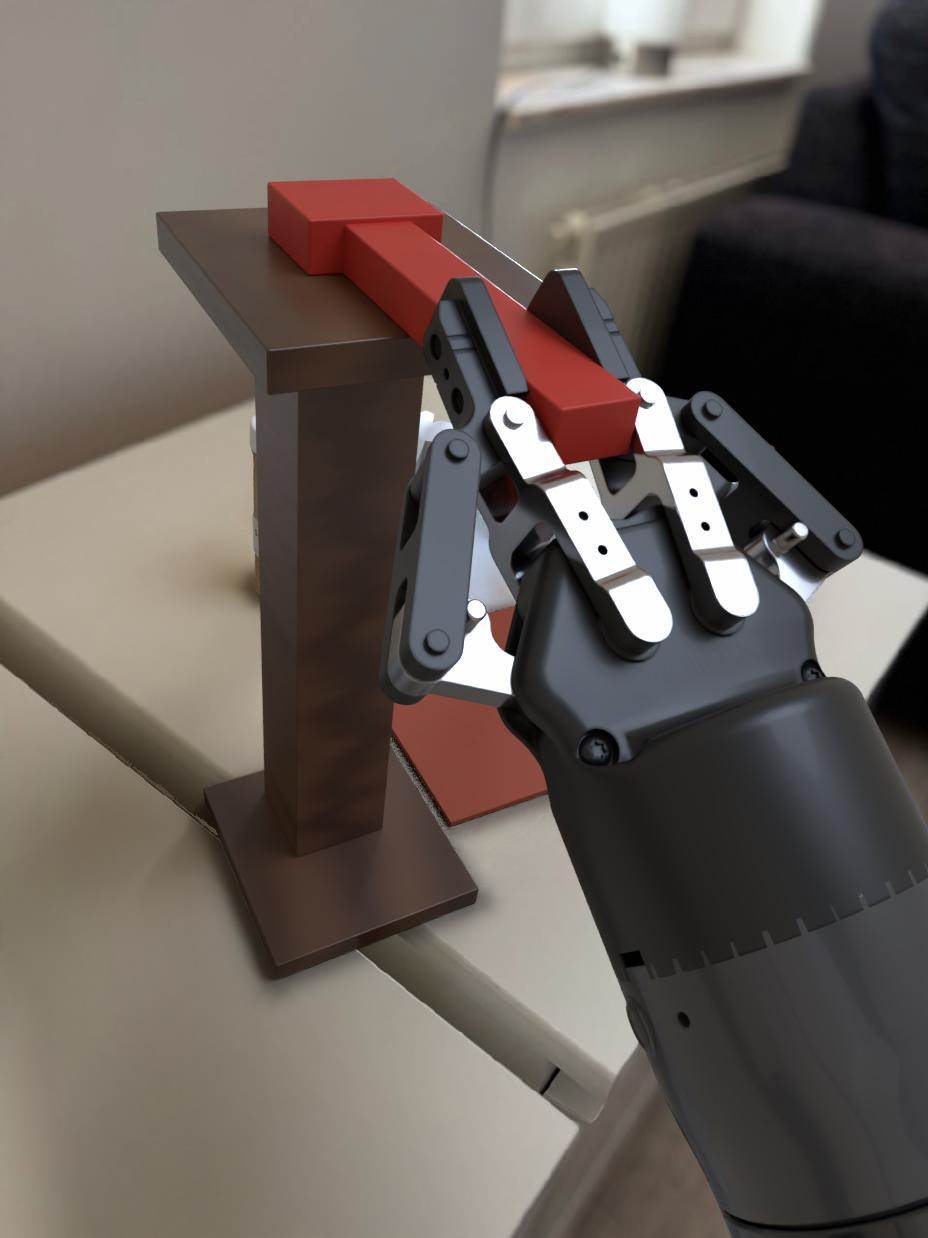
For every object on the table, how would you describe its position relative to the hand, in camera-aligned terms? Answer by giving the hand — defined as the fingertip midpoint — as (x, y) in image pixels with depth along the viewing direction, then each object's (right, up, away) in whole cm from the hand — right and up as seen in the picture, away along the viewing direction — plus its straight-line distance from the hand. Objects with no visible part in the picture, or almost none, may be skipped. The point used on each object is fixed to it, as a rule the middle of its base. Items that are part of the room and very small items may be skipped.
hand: (501, 295), depth 26 cm
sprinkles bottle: (-14, -7, +45) cm, 47 cm away
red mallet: (-2, 0, +4) cm, 4 cm away
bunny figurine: (-8, +5, +60) cm, 61 cm away
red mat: (+3, -13, +39) cm, 41 cm away
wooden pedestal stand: (-8, -21, +27) cm, 35 cm away
